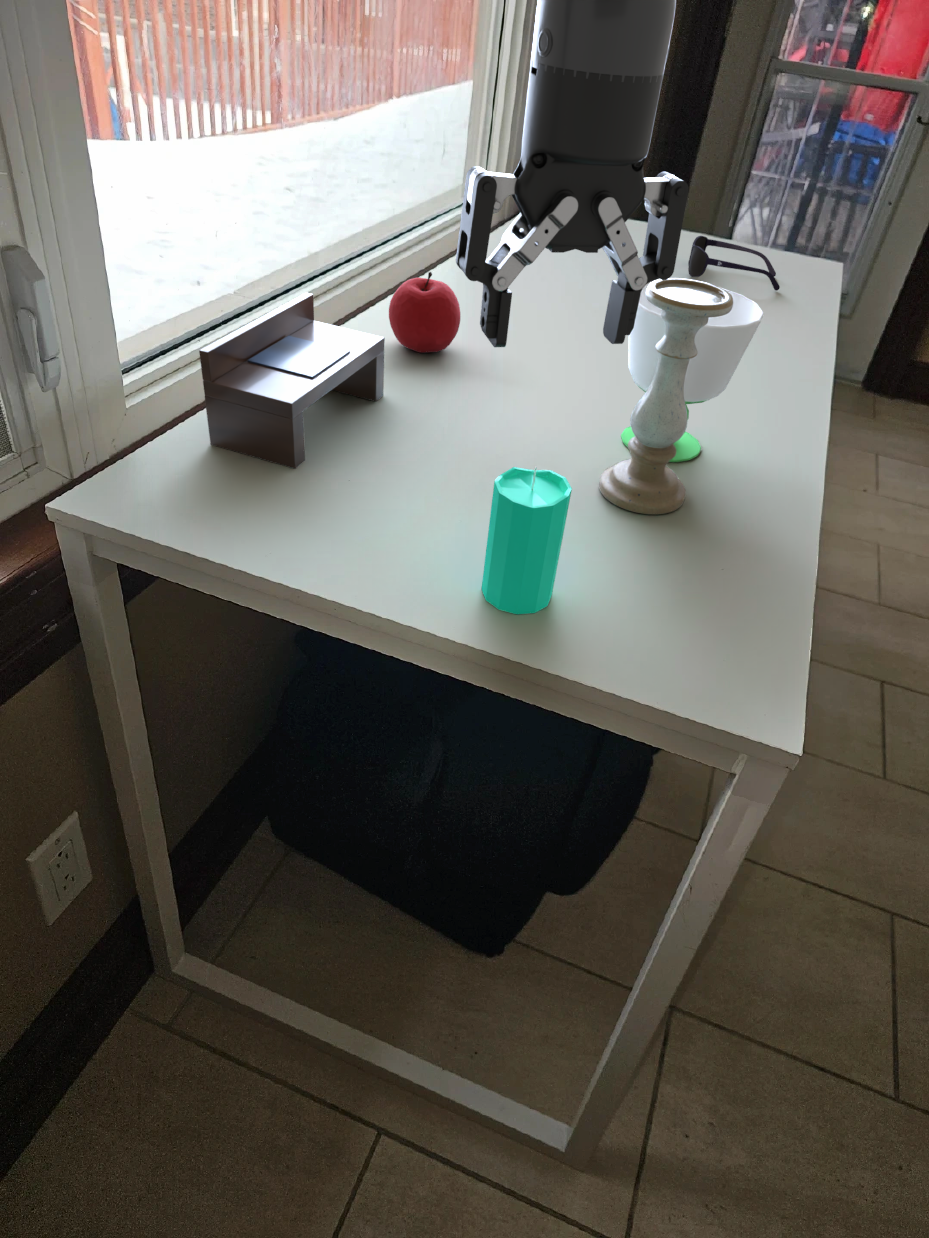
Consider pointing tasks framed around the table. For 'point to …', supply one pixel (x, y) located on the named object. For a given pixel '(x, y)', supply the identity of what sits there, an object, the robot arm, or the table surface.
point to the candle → (524, 539)
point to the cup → (706, 371)
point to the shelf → (283, 379)
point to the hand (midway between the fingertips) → (555, 341)
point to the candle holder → (664, 400)
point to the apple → (424, 314)
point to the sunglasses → (701, 260)
